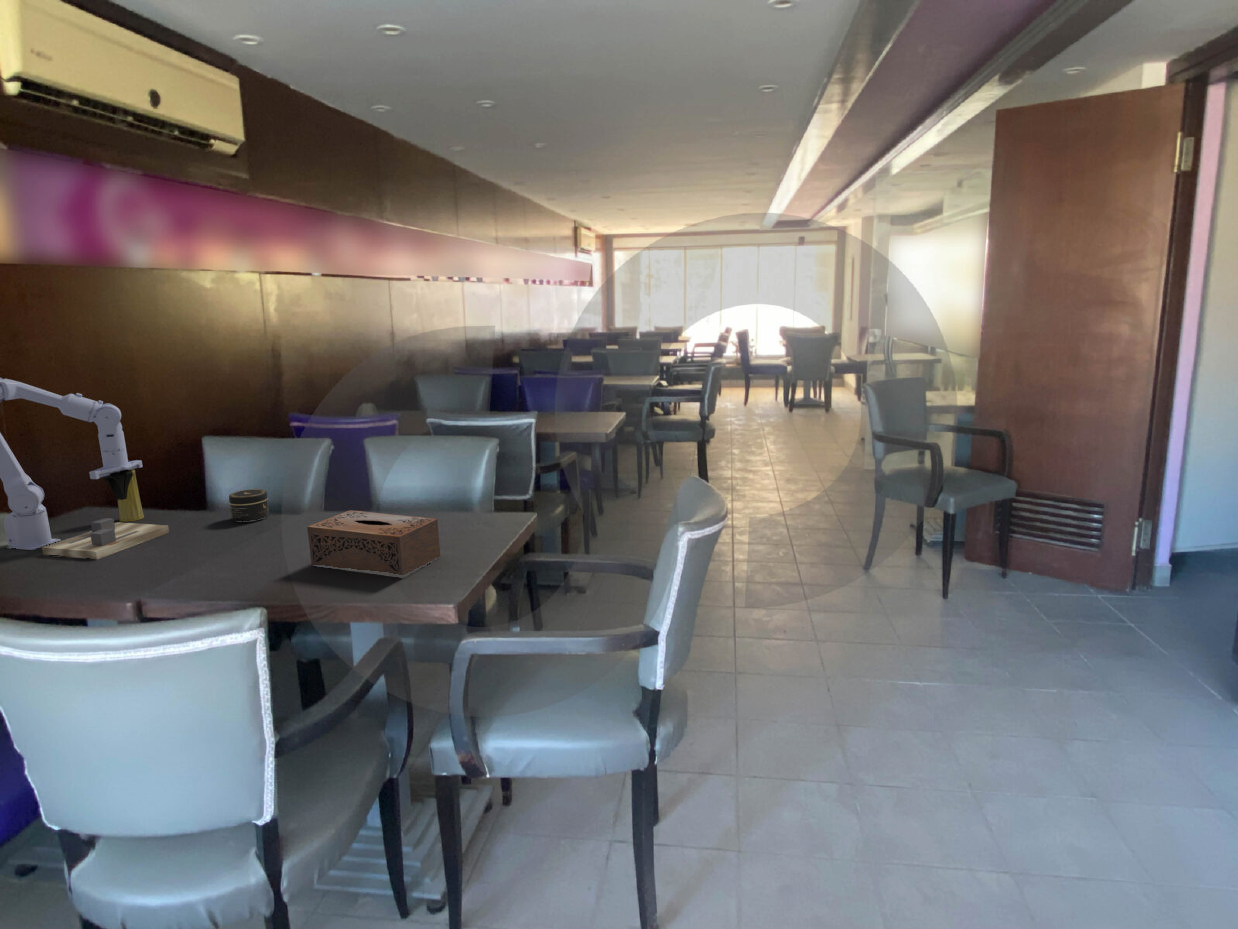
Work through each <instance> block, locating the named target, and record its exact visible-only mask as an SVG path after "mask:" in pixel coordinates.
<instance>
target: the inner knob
mask: <svg viewBox="0 0 1238 929" xmlns="http://www.w3.org/2000/svg"><path fill="white" fill-rule="evenodd" d="M114 523H115V520H114V518H110V517H109V518H108V517H103V518H99V519H96V520H94V521H90V528H91V531H92V533H93V532H96V531H99V530H102V529H114V530H115V524H114Z"/></svg>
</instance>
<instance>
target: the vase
mask: <svg viewBox="0 0 1238 929" xmlns="http://www.w3.org/2000/svg"><path fill="white" fill-rule="evenodd" d="M128 471H130V472H133V476H132V478H131V480H130V483H129V486H128V492H127V499H124V500H117V506H118V512H119V522H121V523H133V522H137V521H140V520H142V519H144V518H145V515H144V512H143V507H142V502H141V498H140V493H139V492H140V491H139V487H138V482H137V481H138V480H137V476H136V470H135V469H131V470H128Z"/></svg>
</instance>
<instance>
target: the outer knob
mask: <svg viewBox="0 0 1238 929" xmlns="http://www.w3.org/2000/svg"><path fill="white" fill-rule="evenodd" d="M90 535H91V541H92V545H101V546H103V545H105V544H108V543H111V542H114V541H116V537H115V531H114V529H102V530H99V531H96V532H93V533H90Z"/></svg>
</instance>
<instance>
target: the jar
mask: <svg viewBox="0 0 1238 929" xmlns="http://www.w3.org/2000/svg"><path fill="white" fill-rule="evenodd" d="M268 500H269V498H268V492H267V491H266V490H265V489H262V488H261V489H259V488H258V489H257V488H255V489H254V488H250V489H244V490H239V491H235V492H232V493H230V494H229V495H228V504H229V508H230V515H231V518H232V520H233V521H234V520H235V521H242V522H243V521H250V520H258V519H261V518H264V517H267V518H268V516H269V513H270V510H269V501H268ZM235 521H234V522H235Z"/></svg>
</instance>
